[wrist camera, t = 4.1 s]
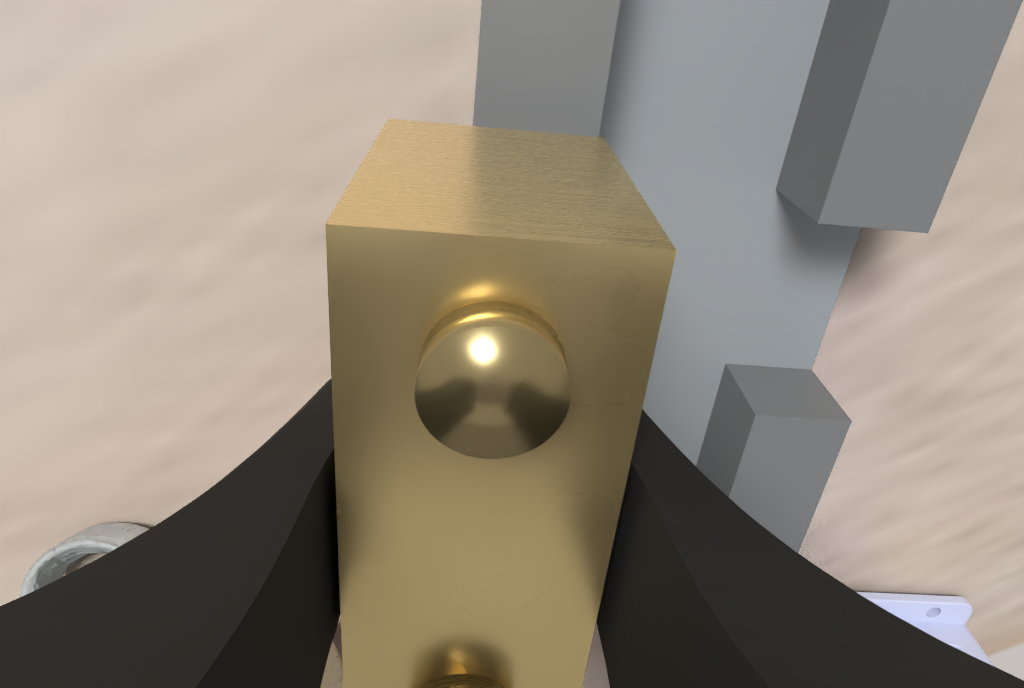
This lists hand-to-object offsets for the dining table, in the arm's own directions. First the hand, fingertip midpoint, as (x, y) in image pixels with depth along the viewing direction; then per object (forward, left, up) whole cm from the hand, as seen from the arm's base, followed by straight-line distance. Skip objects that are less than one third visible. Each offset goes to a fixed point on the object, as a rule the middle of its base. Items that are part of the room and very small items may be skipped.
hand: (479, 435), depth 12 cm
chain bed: (-5, 0, -8) cm, 9 cm away
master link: (0, 0, -2) cm, 2 cm away
